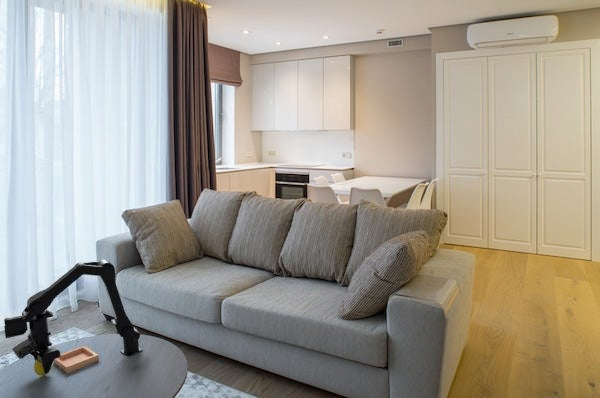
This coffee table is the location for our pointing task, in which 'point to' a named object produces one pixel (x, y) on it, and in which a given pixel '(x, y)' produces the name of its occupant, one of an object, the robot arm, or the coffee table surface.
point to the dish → (76, 359)
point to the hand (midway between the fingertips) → (43, 370)
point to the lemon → (39, 368)
